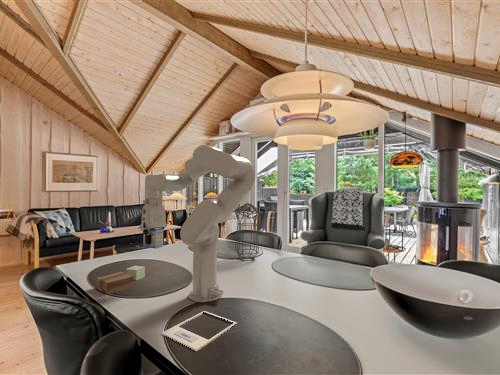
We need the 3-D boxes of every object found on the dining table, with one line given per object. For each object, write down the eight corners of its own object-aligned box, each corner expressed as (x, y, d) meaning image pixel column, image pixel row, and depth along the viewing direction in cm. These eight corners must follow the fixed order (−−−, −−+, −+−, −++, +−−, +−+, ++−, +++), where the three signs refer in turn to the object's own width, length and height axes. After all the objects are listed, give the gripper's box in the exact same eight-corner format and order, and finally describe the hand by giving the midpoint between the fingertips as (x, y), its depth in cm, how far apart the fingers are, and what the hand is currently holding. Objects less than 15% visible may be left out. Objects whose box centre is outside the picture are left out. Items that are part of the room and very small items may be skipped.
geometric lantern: (231, 256, 174) (233, 202, 175) (254, 255, 179) (256, 202, 179) (237, 262, 159) (239, 203, 160) (262, 261, 163) (264, 203, 164)
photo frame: (161, 332, 81) (204, 310, 95) (161, 335, 81) (204, 313, 95) (196, 348, 72) (237, 322, 87) (196, 353, 72) (237, 325, 87)
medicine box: (143, 246, 121) (143, 227, 121) (150, 245, 125) (151, 226, 125) (155, 248, 117) (155, 228, 117) (163, 246, 121) (163, 227, 121)
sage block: (144, 276, 133) (145, 266, 133) (136, 280, 127) (136, 270, 127) (134, 275, 135) (134, 265, 135) (125, 279, 129) (126, 268, 129)
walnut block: (133, 287, 119) (133, 276, 119) (108, 295, 110) (108, 283, 110) (121, 282, 125) (121, 271, 126) (95, 289, 117) (96, 277, 117)
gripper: (142, 203, 112) (142, 247, 112) (174, 201, 126) (173, 240, 126) (131, 202, 116) (131, 245, 116) (163, 201, 130) (162, 239, 130)
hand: (153, 242), depth 121 cm, fingers closed on medicine box, 4 cm apart
